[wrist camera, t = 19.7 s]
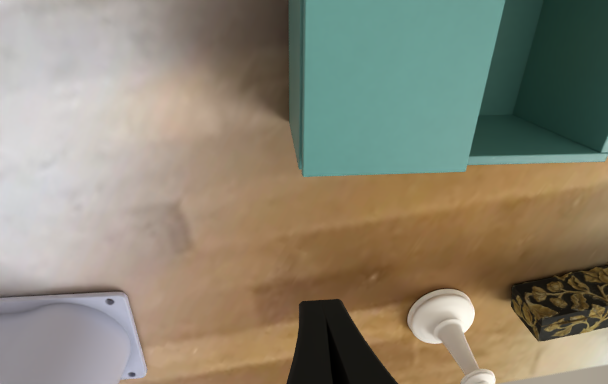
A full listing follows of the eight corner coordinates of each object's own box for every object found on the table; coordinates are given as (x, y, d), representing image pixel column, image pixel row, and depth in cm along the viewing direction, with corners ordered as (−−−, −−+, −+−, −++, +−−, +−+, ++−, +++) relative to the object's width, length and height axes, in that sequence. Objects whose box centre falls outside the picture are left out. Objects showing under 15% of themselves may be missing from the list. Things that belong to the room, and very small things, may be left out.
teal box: (289, 122, 20) (298, 170, 14) (287, -122, 15) (301, -200, 9) (512, 119, 21) (605, 161, 15) (575, -109, 16) (744, -172, 10)
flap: (301, 172, 14) (302, 177, 13) (305, -206, 9) (307, -214, 9) (460, 168, 14) (465, 172, 14) (540, -189, 10) (552, -197, 9)
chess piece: (442, 277, 26) (536, 419, 17) (484, 307, 27) (588, 449, 19) (393, 320, 27) (455, 471, 18) (435, 345, 29) (511, 494, 20)
